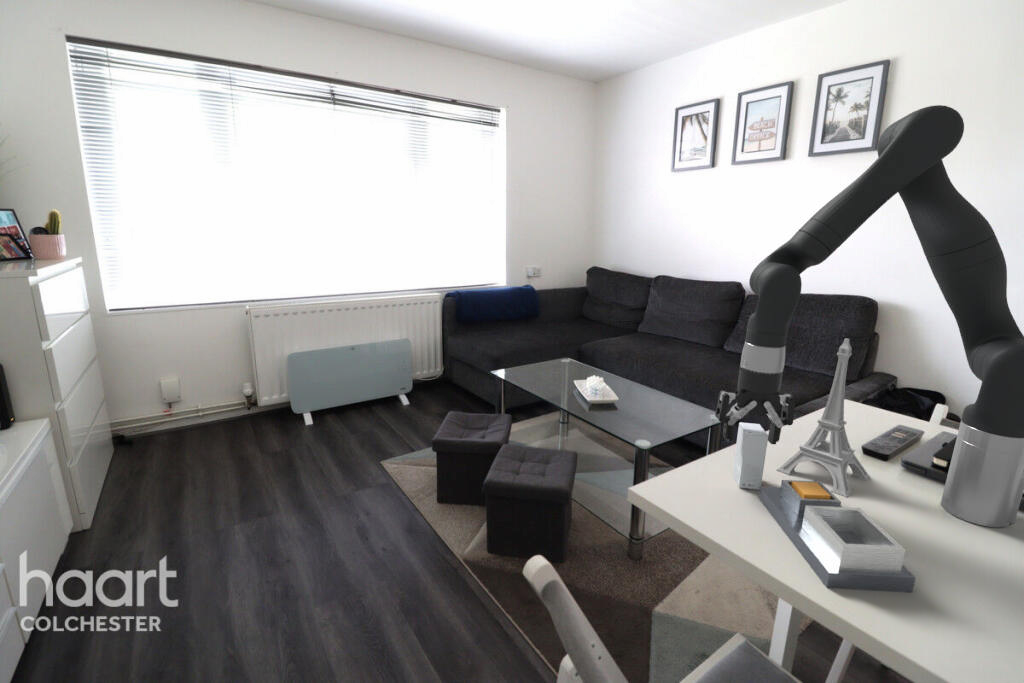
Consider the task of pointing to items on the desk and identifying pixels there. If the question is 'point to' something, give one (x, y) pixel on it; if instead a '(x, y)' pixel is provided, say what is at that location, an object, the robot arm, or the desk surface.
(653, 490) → the desk surface
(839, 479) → the eiffel tower
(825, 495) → the button
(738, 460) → the skincare box
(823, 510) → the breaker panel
